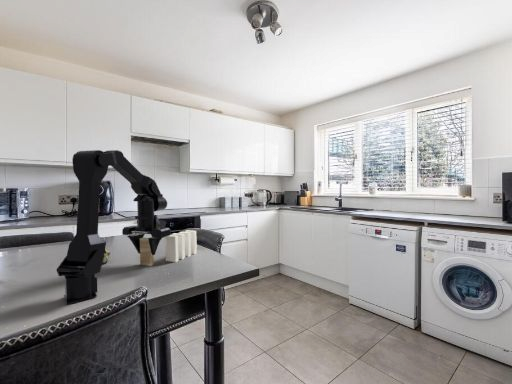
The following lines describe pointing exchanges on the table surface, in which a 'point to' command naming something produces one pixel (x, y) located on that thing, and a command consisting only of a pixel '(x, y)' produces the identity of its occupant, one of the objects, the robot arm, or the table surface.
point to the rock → (104, 257)
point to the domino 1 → (145, 253)
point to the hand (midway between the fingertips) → (146, 254)
